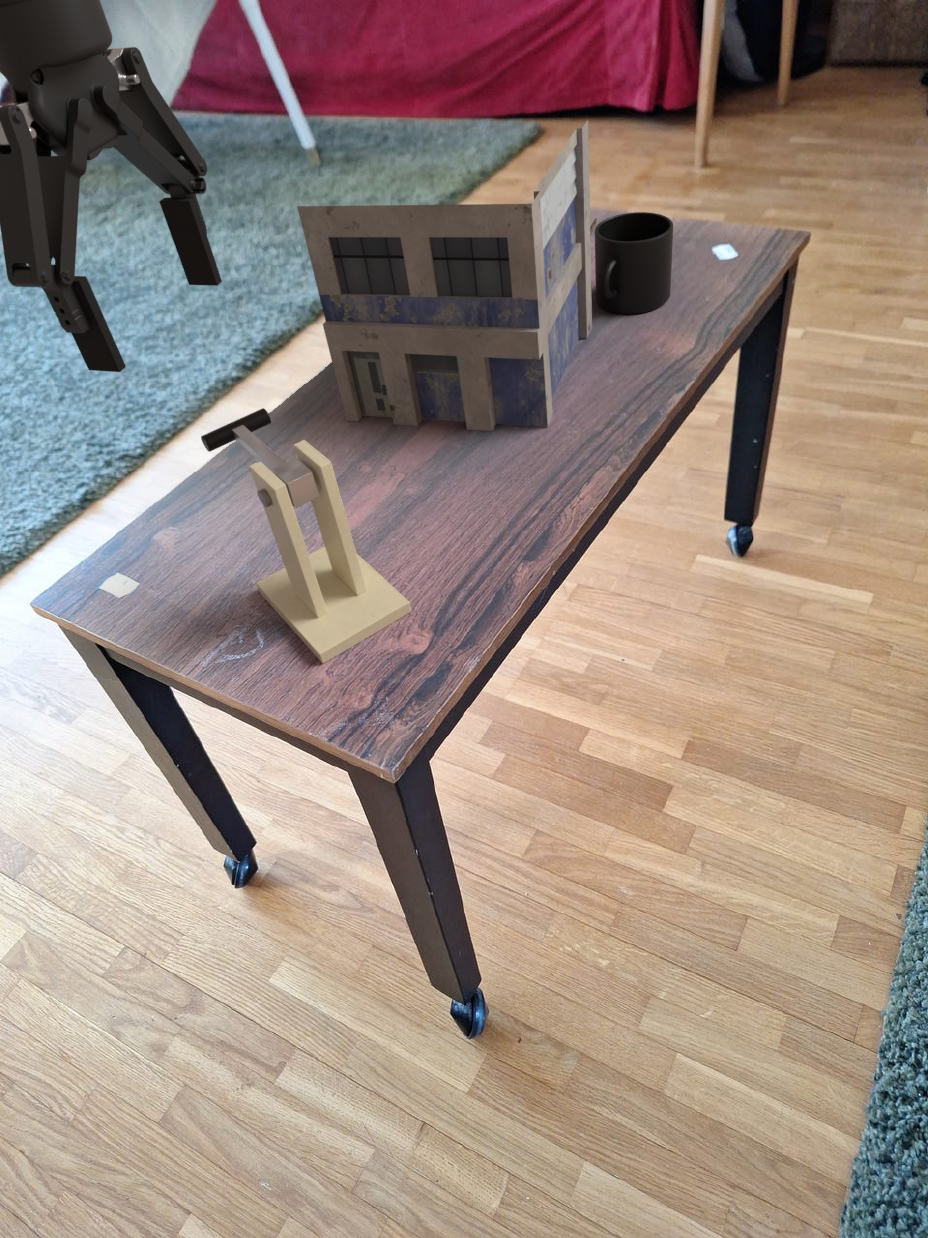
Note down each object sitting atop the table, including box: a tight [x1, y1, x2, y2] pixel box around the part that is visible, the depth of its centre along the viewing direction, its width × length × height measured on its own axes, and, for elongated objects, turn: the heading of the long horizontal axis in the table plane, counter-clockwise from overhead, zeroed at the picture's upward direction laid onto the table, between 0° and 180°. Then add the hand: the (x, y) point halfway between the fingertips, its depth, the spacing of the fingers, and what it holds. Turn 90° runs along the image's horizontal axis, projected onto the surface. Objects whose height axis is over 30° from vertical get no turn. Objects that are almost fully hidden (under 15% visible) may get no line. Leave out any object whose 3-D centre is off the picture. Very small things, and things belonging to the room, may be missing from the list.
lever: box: [200, 408, 319, 509], centre depth 70 cm, size 13×6×2 cm, turn 36°
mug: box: [594, 211, 674, 315], centre depth 107 cm, size 9×12×9 cm
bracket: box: [248, 439, 412, 665], centre depth 71 cm, size 12×9×15 cm
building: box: [296, 119, 593, 432], centre depth 94 cm, size 23×24×23 cm
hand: (160, 323), depth 65 cm, fingers open, 13 cm apart
